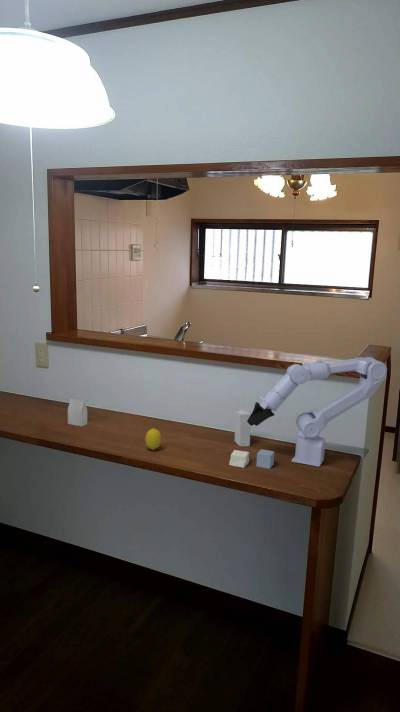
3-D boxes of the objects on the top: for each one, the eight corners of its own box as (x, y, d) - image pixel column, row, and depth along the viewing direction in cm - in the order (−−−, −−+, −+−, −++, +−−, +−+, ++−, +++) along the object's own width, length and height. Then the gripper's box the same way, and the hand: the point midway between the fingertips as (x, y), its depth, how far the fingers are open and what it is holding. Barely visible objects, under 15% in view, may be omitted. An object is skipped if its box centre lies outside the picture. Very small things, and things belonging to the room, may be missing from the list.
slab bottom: (248, 463, 172) (249, 458, 171) (243, 469, 167) (244, 463, 167) (234, 461, 174) (235, 455, 173) (229, 466, 169) (229, 460, 169)
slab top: (248, 457, 172) (248, 452, 172) (245, 462, 167) (245, 457, 167) (234, 455, 173) (234, 450, 173) (230, 460, 169) (230, 454, 168)
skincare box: (250, 446, 188) (252, 414, 186) (238, 446, 186) (240, 414, 184) (244, 440, 193) (246, 409, 191) (233, 441, 192) (234, 409, 190)
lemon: (146, 453, 177) (147, 431, 175) (144, 447, 182) (144, 426, 181) (162, 452, 178) (162, 430, 177) (159, 446, 184) (159, 425, 182)
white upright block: (81, 426, 204) (81, 402, 202) (67, 423, 206) (67, 399, 204) (87, 424, 207) (87, 399, 205) (73, 421, 210) (73, 397, 208)
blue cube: (273, 464, 171) (274, 451, 170) (269, 469, 167) (270, 455, 166) (260, 462, 173) (261, 449, 172) (256, 466, 169) (257, 453, 168)
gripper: (273, 387, 179) (248, 416, 181) (266, 384, 166) (238, 415, 167) (289, 401, 177) (262, 430, 178) (282, 399, 163) (253, 430, 165)
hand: (251, 424), depth 173 cm, fingers open, 7 cm apart
